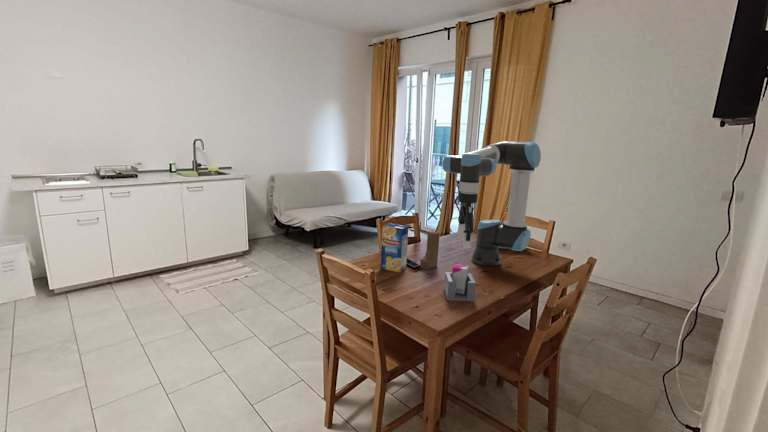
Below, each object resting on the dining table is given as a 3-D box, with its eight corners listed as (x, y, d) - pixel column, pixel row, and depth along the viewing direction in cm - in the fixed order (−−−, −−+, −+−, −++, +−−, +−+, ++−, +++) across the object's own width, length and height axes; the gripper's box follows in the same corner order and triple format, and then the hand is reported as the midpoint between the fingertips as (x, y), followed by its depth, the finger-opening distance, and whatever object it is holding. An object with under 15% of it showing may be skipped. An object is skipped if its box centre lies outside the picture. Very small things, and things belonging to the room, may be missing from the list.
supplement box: (466, 290, 159) (469, 265, 156) (463, 295, 153) (466, 269, 151) (453, 288, 161) (455, 263, 158) (450, 292, 155) (452, 267, 153)
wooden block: (426, 270, 184) (429, 235, 180) (419, 267, 187) (421, 233, 183) (437, 266, 190) (440, 232, 187) (430, 263, 193) (432, 230, 190)
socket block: (469, 290, 161) (470, 273, 160) (474, 301, 151) (476, 283, 149) (443, 289, 162) (445, 271, 160) (447, 299, 151) (448, 281, 149)
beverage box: (400, 272, 179) (402, 228, 174) (380, 268, 184) (382, 225, 179) (406, 268, 185) (408, 226, 180) (386, 264, 190) (388, 222, 185)
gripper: (454, 187, 159) (450, 235, 164) (464, 197, 135) (459, 252, 140) (471, 188, 159) (467, 235, 164) (484, 198, 135) (479, 253, 139)
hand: (463, 243), depth 152 cm, fingers open, 13 cm apart
